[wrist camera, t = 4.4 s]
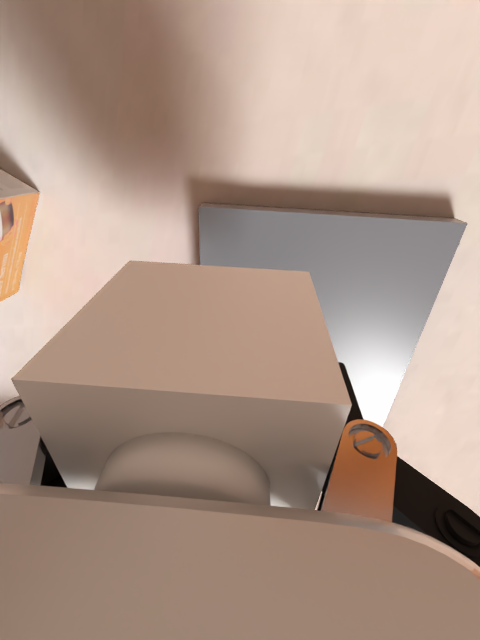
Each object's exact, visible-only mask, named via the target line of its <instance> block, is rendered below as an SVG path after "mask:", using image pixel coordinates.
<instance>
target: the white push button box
mask: <svg viewBox="0 0 480 640" xmlns="http://www.w3.org/2000/svg"><path fill="white" fill-rule="evenodd" d="M11 380H12V382H13V384H14V386H15V388H16V390H17V392H18V393H19V395H20V397H21V399H22V401H23V403H24V405H25V407H26V409H27V411H28V413H29V415H30V417H31V419H32V420H33V422H34V424H35V426H36V428H37V430H38V432H39V434H40V436H41V438H42V440H43V442H44V444H45V445H46V447H47V449H48V451H49V453H50V455H51V457H52V459H53V461H54V463H55V465H56V467H57V469H58V471H59V472H60V474H61V476H62V478H63V480H64V482H65V484H66V486H67V488H76V489H88V490H100V491H112V492H124V493H135V494H147V495H158V496H170V497H181V498H192V499H204V500H215V501H226V502H236V503H247V504H258V505H269V506H279V507H290V508H300V509H309V510H315V508H316V505H317V502H318V499H319V496H320V494H321V491H322V488H323V485H324V482H325V479H326V477H327V474H328V471H329V468H330V465H331V463H332V460H333V457H334V454H335V451H336V448H337V446H338V443H339V440H340V437H341V434H342V431H343V429H344V426H345V423H346V420H347V417H348V415H349V412H350V409H351V406H352V404H351V401H350V398H349V394H348V391H347V388H346V385H345V382H344V379H343V376H342V373H341V370H340V366H339V363H338V360H337V357H336V354H335V351H334V348H333V345H332V341H331V338H330V335H329V332H328V329H327V326H326V323H325V320H324V317H323V313H322V310H321V307H320V304H319V301H318V298H317V295H316V292H315V288H314V285H313V282H312V279H311V276H310V273H309V272H306V271H290V270H274V269H257V268H241V267H225V266H208V265H192V264H175V263H159V262H143V261H129V262H128V263H127V264H126V265H125V266H124V267H123V268H122V269H121V270H120V271H119V272H118V273H117V274H116V275H115V276H114V277H113V278H112V279H111V280H110V281H109V282H108V283H107V284H106V285H105V286H104V287H103V288H102V289H101V290H100V291H99V292H98V293H97V294H96V295H95V296H94V297H93V298H92V299H91V300H90V301H89V302H88V303H87V304H86V305H85V306H84V307H83V308H82V309H81V310H80V311H79V312H78V313H77V314H76V315H75V316H74V317H73V318H72V319H71V320H70V321H69V322H68V323H67V324H66V325H65V326H64V327H63V328H62V329H61V330H60V331H59V332H58V333H57V334H56V335H55V336H54V337H53V338H52V339H51V340H50V341H49V342H48V343H47V344H46V345H45V346H44V347H43V348H42V349H41V350H40V351H39V352H38V353H37V354H36V355H35V356H34V357H33V358H32V359H31V360H30V361H29V362H28V363H27V364H26V365H25V366H24V367H23V368H22V369H21V370H20V371H19V372H18V373H17V374H16V375H15V376H14V377H13V378H12V379H11Z"/></svg>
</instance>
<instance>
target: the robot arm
mask: <svg viewBox="0 0 480 640" xmlns="http://www.w3.org/2000/svg"><path fill="white" fill-rule="evenodd" d="M338 363H339V366H340V370H341V373H342V376H343V379H344V382H345V385H346V388H347V391H348V394H349V398H350V401H351V404H352V406H351V409H350V412H349V415H348V417H347V420H346V423H345V426H344V429H343V431H342V434H341V437H340V440H339V443H338V446H337V448H336V451H335V454H334V457H333V460H332V463H331V465H330V468H329V471H328V474H327V477H326V479H325V482H324V485H323V488H322V492H321V496H320V499H319V503H318V506H317V510H309V509H300V508H290V507H279V506H269V505H258V504H247V503H236V502H226V501H215V500H204V499H192V498H181V497H170V496H158V495H147V494H135V493H124V492H112V491H100V490H88V489H76V488H67V486H66V484H65V482H64V480H63V478H62V476H61V474H60V472H59V471H58V469H57V467H56V465H55V463H54V461H53V459H52V457H51V455H50V453H49V451H48V449H47V447H46V445H45V444H44V442H43V440H42V438H41V436H40V434H39V432H38V430H37V428H36V426H35V424H34V422H33V420H32V419H31V417H30V415H29V413H28V411H27V409H26V407H25V405H24V403H23V401H22V399H21V397H20V396H18V397H15V398H13V399H11V400H9V401H7V402H5V403H4V404H2V405H1V406H0V640H480V517H479V516H478V515H477V514H475V513H474V512H473V511H472V510H471V509H470V508H468V507H467V506H465V505H464V504H463V503H461V502H460V501H459V500H457V499H456V498H454V497H453V496H452V495H450V494H449V493H447V492H446V491H445V490H443V489H442V488H441V487H439V486H438V485H436V484H435V483H434V482H432V481H431V480H429V479H428V478H427V477H425V476H424V475H423V474H421V473H420V472H418V471H417V470H416V469H414V468H413V467H412V466H410V465H409V464H407V463H406V462H405V461H403V460H402V459H400V458H399V457H398V456H397V446H396V443H395V441H394V439H393V437H392V436H391V435H390V434H389V432H388V431H387V430H385V429H384V428H383V427H381V426H380V425H378V424H376V423H374V422H372V421H368V420H364V419H363V416H362V414H361V411H360V408H359V405H358V402H357V399H356V396H355V393H354V390H353V387H352V384H351V382H350V379H349V376H348V373H347V370H346V367H345V365H344V363H342V362H338Z"/></svg>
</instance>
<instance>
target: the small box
mask: <svg viewBox="0 0 480 640" xmlns="http://www.w3.org/2000/svg"><path fill="white" fill-rule="evenodd" d="M39 195H40V193H39V192H38V191H37V190H35V189H34V188H32V187H30V186H28V185H27V184H25V183H23V182H22V181H20V180H18V179H17V178H15V177H13V176H11V175H10V174H8V173H6V172H5V171H3V170H1V169H0V302H1V301H3V300H4V299H6V298H8V297H10V296H12V295H14V294H15V293H17V292H18V291H19V285H20V279H21V273H22V268H23V263H24V259H25V254H26V250H27V246H28V241H29V237H30V233H31V229H32V224H33V220H34V216H35V211H36V207H37V205H38V200H39Z"/></svg>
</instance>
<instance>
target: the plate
mask: <svg viewBox="0 0 480 640" xmlns="http://www.w3.org/2000/svg"><path fill="white" fill-rule="evenodd" d="M466 225H467V223H466V222H463V221H460V220H458V219H455V218H441V217H424V216H408V215H392V214H375V213H359V212H343V211H326V210H310V209H294V208H277V207H261V206H245V205H228V204H212V203H202V204H201V205H200V206H199V244H200V265H208V266H225V267H241V268H257V269H274V270H290V271H306V272H309V273H310V276H311V279H312V282H313V285H314V288H315V292H316V295H317V298H318V301H319V304H320V307H321V310H322V313H323V317H324V320H325V323H326V326H327V329H328V332H329V335H330V338H331V341H332V345H333V348H334V351H335V354H336V357H337V360H338V362H342V363H344V365H345V367H346V370H347V373H348V376H349V379H350V382H351V384H352V387H353V390H354V393H355V396H356V399H357V402H358V405H359V408H360V411H361V414H362V416H363V419H364V420H368V421H372V422H374V423H376V424H378V425H380V426H381V427H383V425H384V422H385V420H386V417H387V415H388V413H389V410H390V408H391V405H392V403H393V401H394V398H395V396H396V393H397V391H398V389H399V386H400V384H401V381H402V379H403V377H404V374H405V372H406V369H407V367H408V365H409V362H410V360H411V357H412V355H413V353H414V350H415V348H416V345H417V343H418V341H419V338H420V336H421V333H422V331H423V329H424V326H425V324H426V321H427V319H428V317H429V314H430V312H431V309H432V307H433V305H434V302H435V300H436V297H437V295H438V293H439V290H440V288H441V285H442V283H443V281H444V278H445V276H446V273H447V271H448V269H449V266H450V264H451V261H452V259H453V257H454V254H455V252H456V249H457V247H458V245H459V242H460V240H461V237H462V235H463V233H464V230H465V228H466Z"/></svg>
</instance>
